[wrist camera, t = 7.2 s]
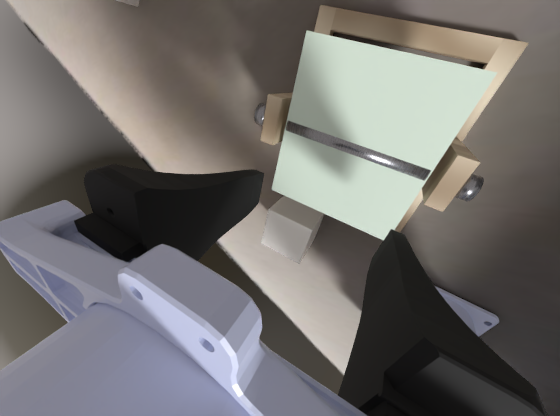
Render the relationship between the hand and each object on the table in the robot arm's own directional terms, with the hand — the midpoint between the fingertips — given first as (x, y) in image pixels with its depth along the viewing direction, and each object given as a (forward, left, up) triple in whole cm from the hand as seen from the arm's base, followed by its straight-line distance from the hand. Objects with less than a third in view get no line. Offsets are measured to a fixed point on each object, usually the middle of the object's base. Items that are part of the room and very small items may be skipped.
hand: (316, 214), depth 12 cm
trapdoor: (+3, 0, -6) cm, 7 cm away
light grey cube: (-8, +3, -10) cm, 13 cm away
